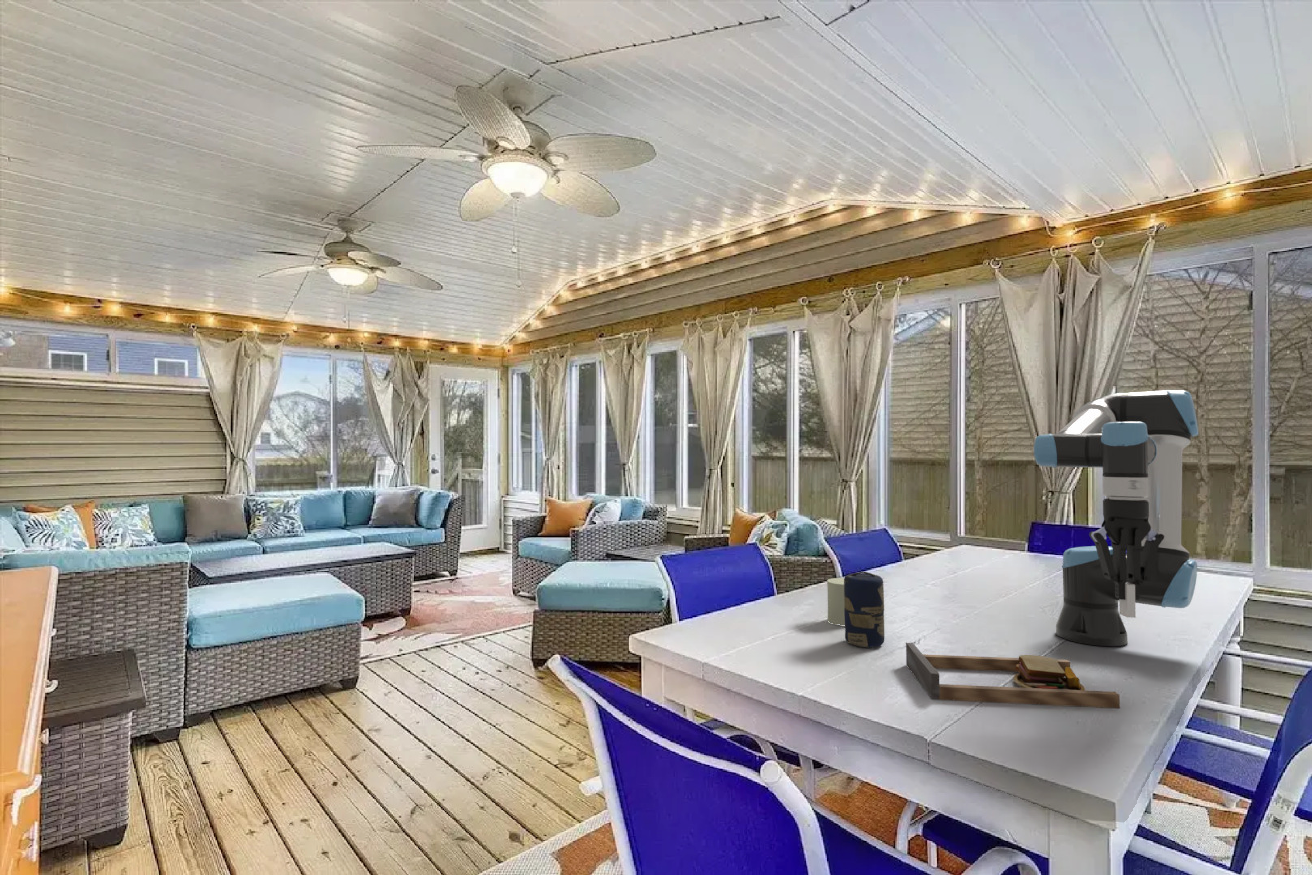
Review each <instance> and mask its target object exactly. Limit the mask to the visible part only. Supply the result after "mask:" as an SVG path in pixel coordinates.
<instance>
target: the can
mask: <svg viewBox="0 0 1312 875" xmlns="http://www.w3.org/2000/svg"><path fill="white" fill-rule="evenodd" d="M844 578H845V577H832V578H829V579H827V580H826V582H827V584H826V585H827V587H826V588H827V620H828V621H829V622H830V623H833V624H840V625H845V616H844V608H845V606H844ZM830 623H829V624H830Z"/></svg>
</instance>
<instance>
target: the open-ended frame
mask: <svg viewBox="0 0 1312 875" xmlns="http://www.w3.org/2000/svg"><path fill="white" fill-rule="evenodd" d="M905 649H906V650H905V654H906V656H905V657H906V658H905V663H906V667H907V666H908V667H909V668H908V667H907V668H908V669H909V671H910V670H911V671H912V672H911V671H910V672H911V673H912V675H913V676H914V678H915V679H916V680H917V681H919V682H918V683H919V684H920V686H921V685H922V686H921V687H922V689H923V690H924V691H925V692H926V694H927V695H928V697H929V698H930V699H931V700H937V701H938V700H939V701H957V702H959V701H960V702H979V703H981V702H982V703H983V702H984V703H998V704H999V703H1001V704H1003V703H1004V704H1020V705H1021V704H1023V705H1041V706H1042V705H1043V706H1044V705H1046V706H1065V707H1067V706H1068V707H1087V708H1088V707H1089V708H1109V709H1111V708H1112V709H1120V707H1121V706H1120V705H1121V704H1120V702H1121V701H1120V698H1121V697H1120V694H1119V693H1118V692H1116V691H1108V690H1104V691H1103V690H1086V689H1085V690H1064V689H1041V688H1021V687H1019V686H1018V687H1016V686H1015V687H1014V686H1013V687H1012V686H994V685H993V686H990V685H972V684H970V685H969V684H967V685H966V684H949V683H946V684H945V683H943V684H942V683H941V684H940V673H939V671H938V670H937V669H941V670H943V669H944V670H946V669H947V670H948V669H949V670H966V671H967V670H968V671H989V672H992V671H993V672H995V671H997V672H1018V671H1017V670H1016V669H1015V666H1016V665H1017V664H1019V663H1020V661H1019V657H1001V656H998V657H997V656H975V655H974V656H971V655H949V654H948V655H945V654H944V655H943V654H942V655H941V654H923V652H921V651H920V649H919V648H918V647H917V646H916V645H915V644H914V642H905ZM1055 659H1056V658H1055ZM1056 660H1058V664H1059V665H1060V666H1061V668H1062V669H1063V670H1064V672H1065V667H1070V668H1071V661H1070V660H1068V659H1056ZM1018 673H1019V672H1018Z"/></svg>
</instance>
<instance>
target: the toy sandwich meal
mask: <svg viewBox="0 0 1312 875" xmlns="http://www.w3.org/2000/svg"><path fill="white" fill-rule="evenodd" d="M1018 658H1019V661H1020V663H1019V664H1017V665H1016V666H1015V669H1016V670H1017V671H1018V673H1016V674H1015V675H1013V676H1012V677H1013V678H1012V680H1013V681H1014V683H1016V684H1017V686H1018V688H1041V689H1064V690H1086V688H1085V686H1084V685H1083V684H1082V683H1081V682H1080V678H1079V677H1078V676H1076V673H1075V672H1074V671H1073V669H1072V668H1071V666H1070V667H1065V672H1064V670H1063V669H1062V668H1061V666H1060V665H1059V664H1058V660H1059V659H1058V660H1056V658H1053V657H1047V656H1042V655H1034V654H1024V655H1022V654H1021V655H1019V656H1018Z"/></svg>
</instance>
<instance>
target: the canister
mask: <svg viewBox="0 0 1312 875" xmlns="http://www.w3.org/2000/svg"><path fill="white" fill-rule="evenodd" d="M843 578H844V606H845V608H844V616H845V627H844V638H845V641H846V642H847V643H848V644H850V645H854V646H857V647H861V648H875V647H881V646H882V645H883V644H884V643H885V594H884V592H885V590H884V589H885V588H884V580H883V578H882V577H881V576H880V575H877V574H873V573H870V572H867V571H858V572H854V573H849V574H847V575H845V576H844V577H843Z"/></svg>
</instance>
